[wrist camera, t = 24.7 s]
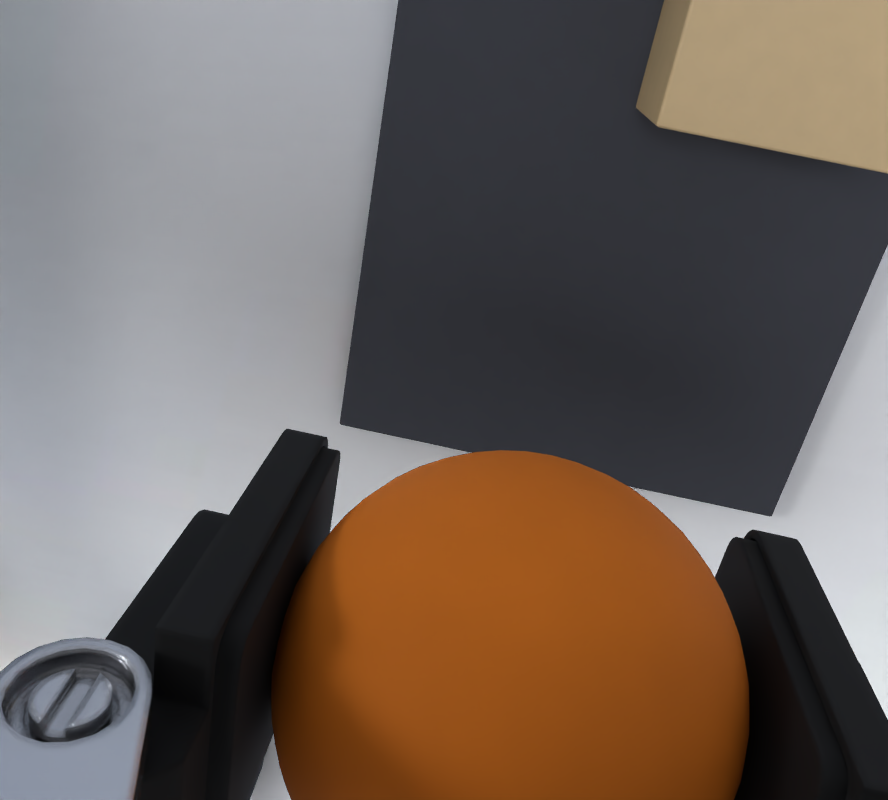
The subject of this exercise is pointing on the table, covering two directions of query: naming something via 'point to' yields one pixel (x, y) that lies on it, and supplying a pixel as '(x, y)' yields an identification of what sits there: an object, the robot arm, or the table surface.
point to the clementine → (509, 645)
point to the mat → (595, 260)
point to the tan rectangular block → (774, 76)
